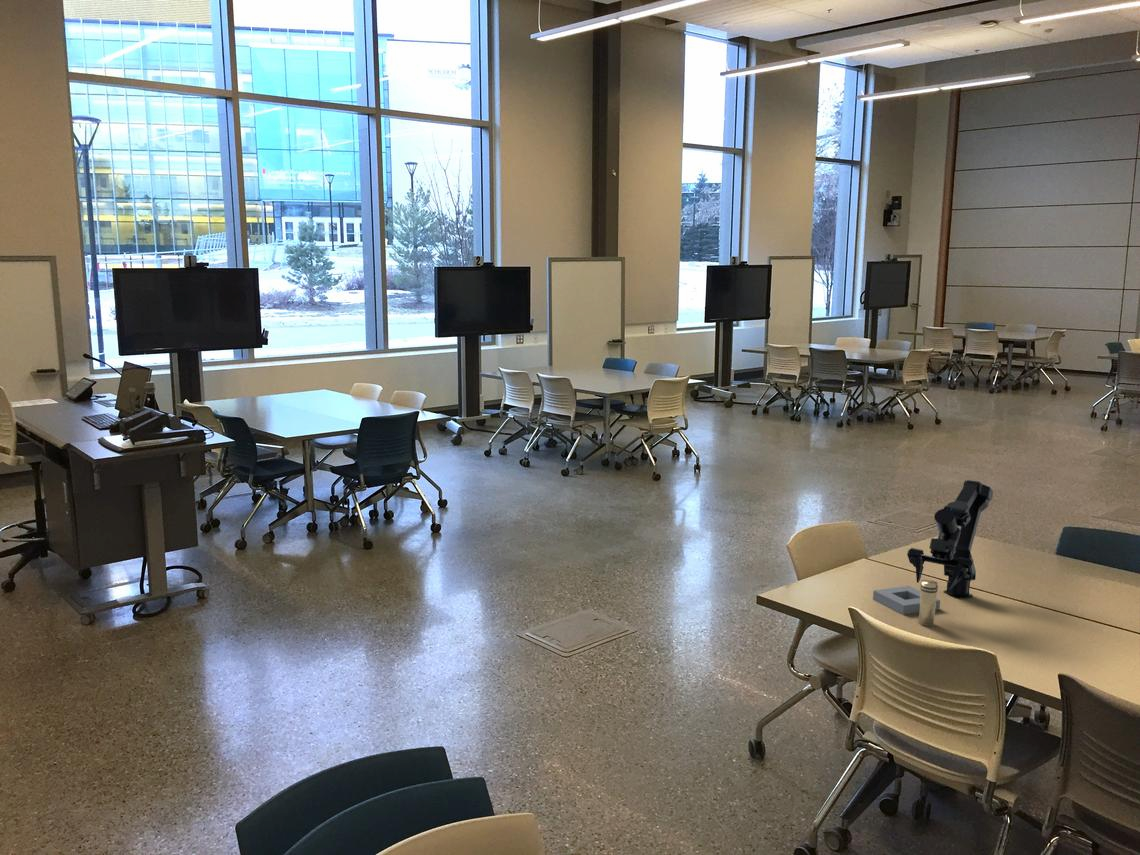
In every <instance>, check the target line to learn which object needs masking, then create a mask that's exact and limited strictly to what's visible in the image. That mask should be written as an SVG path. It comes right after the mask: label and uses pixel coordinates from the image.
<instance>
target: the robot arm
mask: <svg viewBox="0 0 1140 855" xmlns="http://www.w3.org/2000/svg"><path fill="white" fill-rule="evenodd" d="M993 497H994V490H993V489H992V488H991V487H990V485H989V486H988V485H986V484H983V483H982V482H980V481H978V480H977V481H975V480H970V479H968V480H964V482H963V486H962V489H961V490H960V492H959V493H958V495H957V497H956V498H955V500H954V501H953V502H951V501H950V502H949V503H947V504H946V505H944V507H943V508H941V509H939V510H937V511H936V512H935V513H934V515H933V517H934V521H935V524H936V528H937V531H939V533H938V536H937V538H931V539H930V543H929V546H928V547H929V550H930V551H929V553H930V554H931V555H928V554H925V553H924V550H923V549H920V548H914V547H911V548H910V549H908V550H907V554H906V555H907V558H908V560H909V563H910V564H911V565H912V566H913V567H914V568H915V574H916V575H915V576H916V577H915V578H916V580H915V581H916V583H918V584H919V583H920V580H921V577H922V575H923V572H924V571H923V570H924V565H925V562H927V563H931V564H935V565H942V566H943V576H947V577H948V578H947V582H946V590H943V591H942V592H943V593H945V594H947V595H949V596H951V597H952V598H956V599H965V598H971V597H970V596H972V597H973V595H974V594H972V593H970V586H971V582H972V581H976V578H977V577H976V576H977V570H976V567H975V562H974V558H973V555H972V553H971V550H972V547H973V544H974V543H973V542H974V540H975V536H976V531H977V528H978V524H979V521H980V517H981V513H982V512H983V511H984V510H985V509H986V508H988V507H989V504H990V501H992V499H993Z"/></svg>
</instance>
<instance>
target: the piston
mask: <svg viewBox="0 0 1140 855" xmlns="http://www.w3.org/2000/svg"><path fill="white" fill-rule="evenodd" d="M938 587H939V586H938V582H937V581H935V580H932V579H923V580H921V583H920V588H919V589H920V590H919V591H921V594H920V606H919V613H918V620H917V624H918V625H920V626H921V627H927V628H930V627H933V626H935V617H936V610H935V607H936V599H937V596H938V594H937V593H938Z"/></svg>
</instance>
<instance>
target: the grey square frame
mask: <svg viewBox="0 0 1140 855" xmlns="http://www.w3.org/2000/svg"><path fill="white" fill-rule="evenodd" d="M872 592H873V594H872V600H874V601H875V602H876V603H879V604H881V605H883V606H885V607H887V608H889V609H891V610H893V611H895V612H897V613H899V614H900V615H903V616H904V615H911V614H917V613H918V614H919V606H920V594H921V590H919V589H917V588H915V587H912V586H910V585H904V586H895V587H889V588H882V589H874V590H873V591H872ZM940 606H941V600H940V599H938V598H936V607H935V611H937V610H938V611H939V610H940V608H941V607H940Z"/></svg>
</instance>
